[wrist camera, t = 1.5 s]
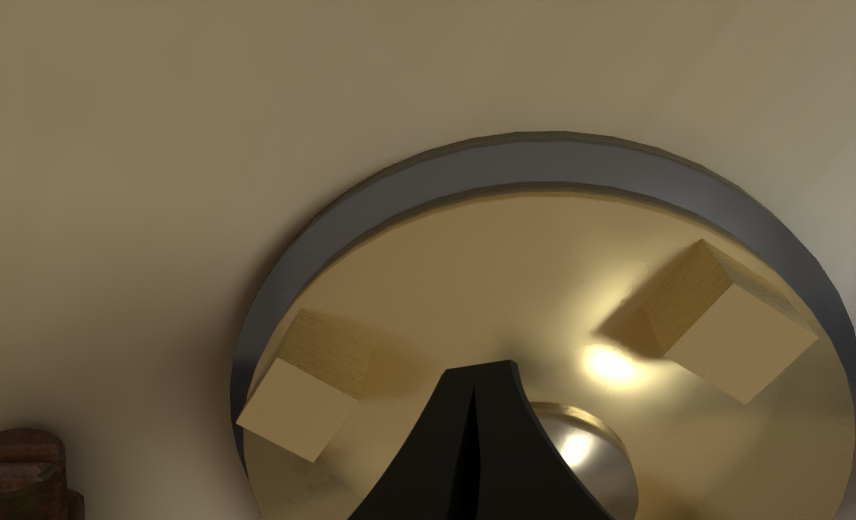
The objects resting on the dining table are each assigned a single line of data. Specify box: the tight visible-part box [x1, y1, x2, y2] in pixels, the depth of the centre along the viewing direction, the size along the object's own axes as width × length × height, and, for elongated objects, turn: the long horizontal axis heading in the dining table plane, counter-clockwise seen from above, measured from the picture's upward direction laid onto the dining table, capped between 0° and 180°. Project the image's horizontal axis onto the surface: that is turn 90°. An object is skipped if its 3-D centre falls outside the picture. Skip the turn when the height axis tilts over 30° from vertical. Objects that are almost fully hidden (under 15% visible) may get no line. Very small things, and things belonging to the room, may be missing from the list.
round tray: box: [236, 181, 856, 520], centre depth 21 cm, size 19×19×4 cm
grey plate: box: [230, 131, 856, 480], centre depth 24 cm, size 21×21×1 cm
